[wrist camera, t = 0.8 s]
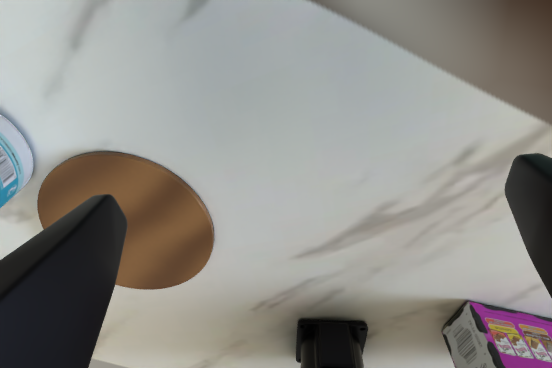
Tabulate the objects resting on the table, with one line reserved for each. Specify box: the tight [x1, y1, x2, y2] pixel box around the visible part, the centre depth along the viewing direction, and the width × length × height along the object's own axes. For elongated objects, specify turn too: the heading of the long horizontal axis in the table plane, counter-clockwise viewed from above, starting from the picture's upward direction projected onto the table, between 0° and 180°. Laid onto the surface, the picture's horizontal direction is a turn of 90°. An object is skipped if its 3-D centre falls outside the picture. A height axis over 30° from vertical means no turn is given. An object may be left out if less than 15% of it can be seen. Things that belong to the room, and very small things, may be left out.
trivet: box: [37, 152, 214, 289], centre depth 28 cm, size 14×14×1 cm
